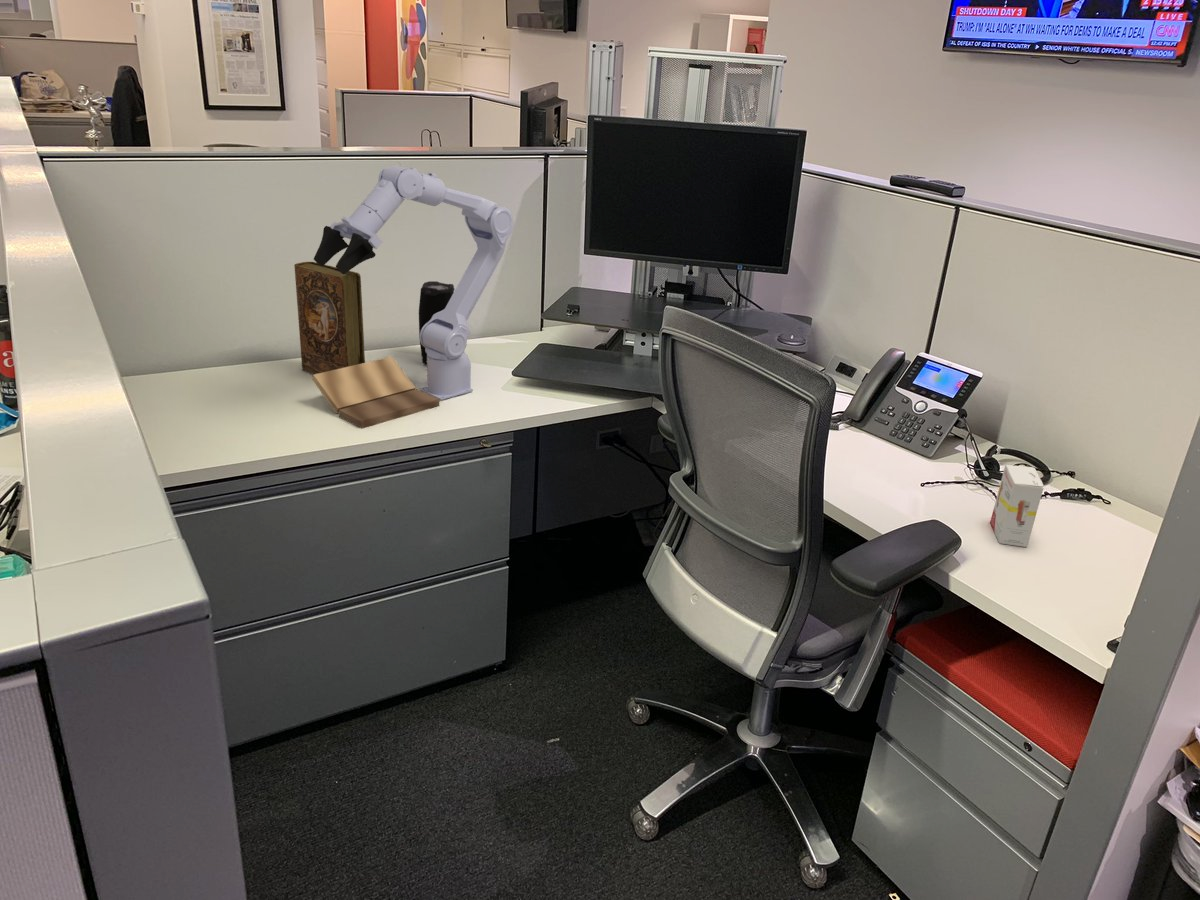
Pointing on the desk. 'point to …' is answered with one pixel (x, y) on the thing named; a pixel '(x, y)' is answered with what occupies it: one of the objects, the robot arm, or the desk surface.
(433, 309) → the portable speaker
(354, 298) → the book
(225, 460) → the desk surface
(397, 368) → the oak plank
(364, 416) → the walnut strip
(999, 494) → the ink box
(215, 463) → the desk surface
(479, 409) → the desk surface
